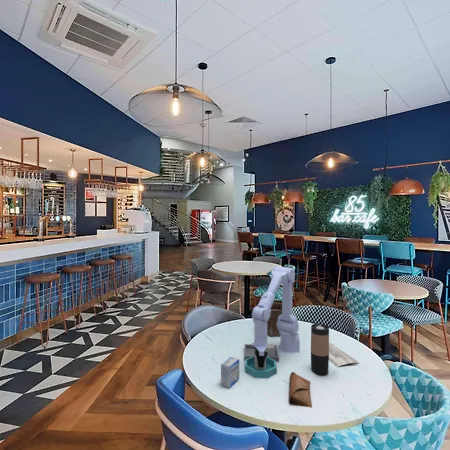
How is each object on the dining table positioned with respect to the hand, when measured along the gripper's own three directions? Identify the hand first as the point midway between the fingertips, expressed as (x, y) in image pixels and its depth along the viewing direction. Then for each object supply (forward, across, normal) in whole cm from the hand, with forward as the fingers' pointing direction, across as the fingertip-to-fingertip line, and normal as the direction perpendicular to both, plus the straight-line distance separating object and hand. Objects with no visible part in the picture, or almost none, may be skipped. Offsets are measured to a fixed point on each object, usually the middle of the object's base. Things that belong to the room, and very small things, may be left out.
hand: (260, 364), depth 126 cm
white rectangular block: (+1, 0, 0) cm, 1 cm away
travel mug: (+3, -1, +26) cm, 26 cm away
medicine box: (+3, +10, -13) cm, 17 cm away
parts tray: (+3, -14, +1) cm, 14 cm away
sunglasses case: (+3, +15, +14) cm, 21 cm away
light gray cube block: (+2, -14, +5) cm, 15 cm away
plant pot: (+3, -43, +10) cm, 44 cm away
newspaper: (+4, -18, +38) cm, 42 cm away
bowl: (+3, 0, 0) cm, 3 cm away
